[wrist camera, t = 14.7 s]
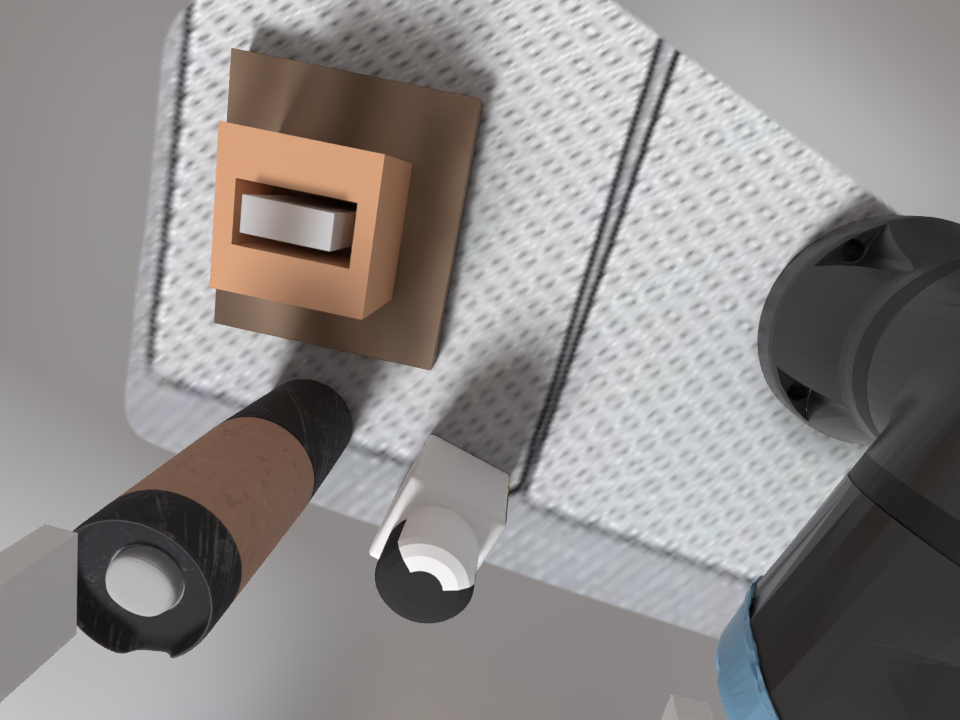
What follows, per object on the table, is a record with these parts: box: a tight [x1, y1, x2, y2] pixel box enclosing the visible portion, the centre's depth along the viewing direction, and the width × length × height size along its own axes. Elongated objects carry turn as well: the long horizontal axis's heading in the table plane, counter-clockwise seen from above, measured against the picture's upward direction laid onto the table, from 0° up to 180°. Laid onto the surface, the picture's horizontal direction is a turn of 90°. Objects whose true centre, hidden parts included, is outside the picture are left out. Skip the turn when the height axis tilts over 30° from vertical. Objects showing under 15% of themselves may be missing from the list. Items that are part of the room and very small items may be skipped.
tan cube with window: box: [210, 121, 412, 320], centre depth 34 cm, size 9×9×7 cm
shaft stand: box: [214, 48, 483, 370], centre depth 34 cm, size 16×18×10 cm
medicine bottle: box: [370, 435, 510, 623], centre depth 38 cm, size 7×7×12 cm
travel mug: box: [73, 380, 352, 658], centre depth 34 cm, size 8×8×20 cm
